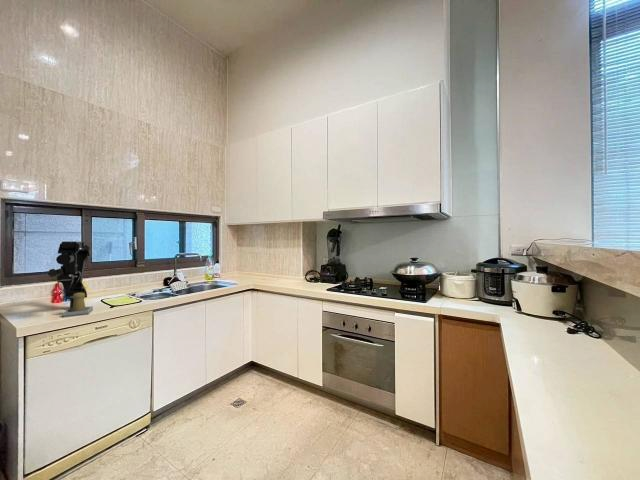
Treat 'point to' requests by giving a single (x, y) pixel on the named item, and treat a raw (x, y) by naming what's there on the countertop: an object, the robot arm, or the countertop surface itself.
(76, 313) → the grey tray
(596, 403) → the countertop surface
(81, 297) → the cork
